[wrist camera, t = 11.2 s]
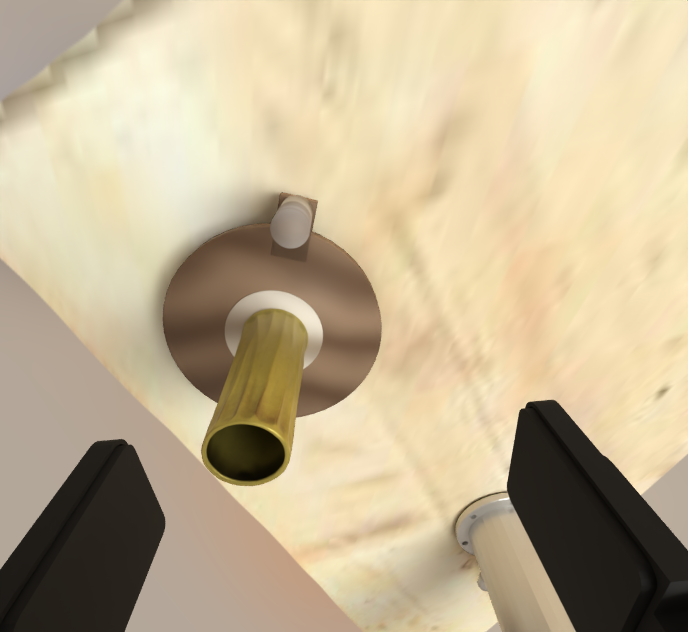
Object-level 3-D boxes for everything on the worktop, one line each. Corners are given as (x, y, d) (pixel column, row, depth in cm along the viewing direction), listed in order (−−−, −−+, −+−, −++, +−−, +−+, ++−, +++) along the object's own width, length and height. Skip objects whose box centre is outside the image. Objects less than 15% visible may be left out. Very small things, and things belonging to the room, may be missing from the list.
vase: (243, 363, 36) (197, 491, 23) (240, 305, 33) (186, 413, 21) (307, 366, 37) (296, 493, 24) (309, 309, 34) (299, 416, 21)
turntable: (370, 411, 41) (378, 465, 35) (183, 407, 40) (154, 463, 33) (393, 197, 32) (412, 215, 25) (147, 184, 30) (96, 199, 24)
